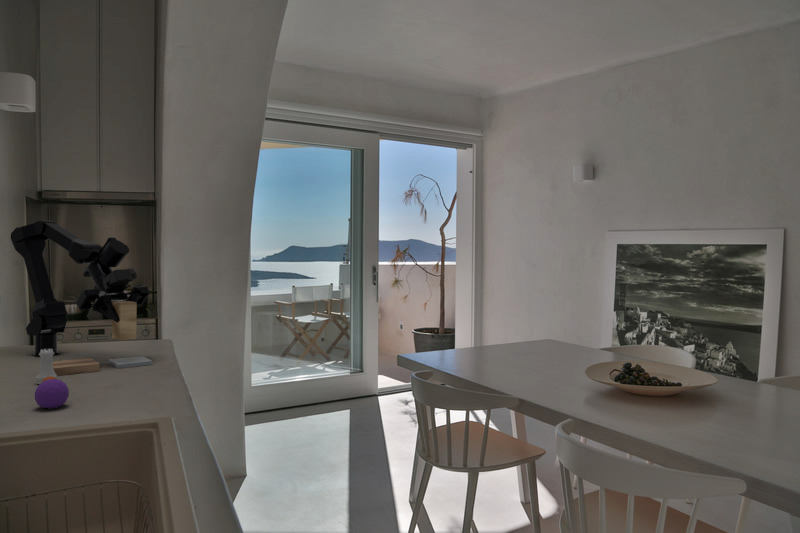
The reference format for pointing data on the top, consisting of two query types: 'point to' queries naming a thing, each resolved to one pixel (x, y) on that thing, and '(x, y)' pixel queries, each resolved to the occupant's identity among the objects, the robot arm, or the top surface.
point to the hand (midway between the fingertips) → (127, 320)
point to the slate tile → (130, 362)
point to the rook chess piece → (45, 365)
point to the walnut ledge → (75, 366)
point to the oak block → (125, 320)
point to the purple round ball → (51, 393)
